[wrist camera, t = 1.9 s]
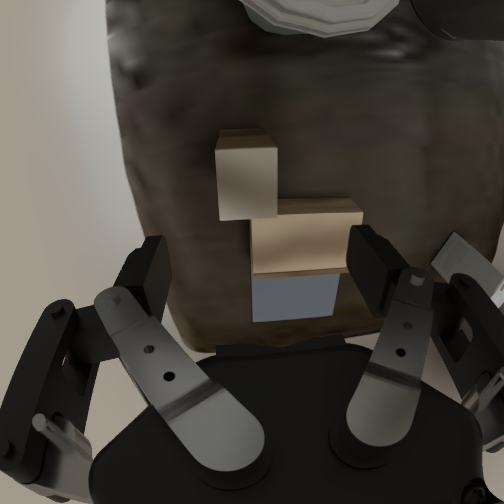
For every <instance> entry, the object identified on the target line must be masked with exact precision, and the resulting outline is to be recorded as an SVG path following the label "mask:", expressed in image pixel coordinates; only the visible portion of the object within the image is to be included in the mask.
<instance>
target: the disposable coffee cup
mask: <svg viewBox="0 0 504 504" xmlns="http://www.w3.org/2000/svg"><path fill="white" fill-rule="evenodd" d="M239 1H241V2H242V3H243V4H244V7H245V9H246V11H247V13H248V16H249V18H250V20H251V21H252V22H254V23H255V24H257V25H258V26H259V27H261V28H262V29H263V30H265V31H267V32H273V33H277V34H282V35H291V34H308V33H309V34H313V35H316V36H320V37H323V38H326V37H331V36H336V35H342V34H348V33H355V32H362V31H368V30H369V29H370V28H371V27H373V26H374V25H375V24H376V23H378V22H379V21H380V20H381V19H382V18H383V17H384V16H385V15H387V14H388V13H389V12H390V11H391V10H392V9H393V8H395V7H396V6H397V5H398V4H399V0H239Z"/></svg>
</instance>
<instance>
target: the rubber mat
mask: <svg viewBox="0 0 504 504" xmlns="http://www.w3.org/2000/svg"><path fill="white" fill-rule="evenodd" d="M339 276H340V273H338V274H325V275H312V276H299V277H284V278H269V279H253V273H252V264H251V281H252V310H253V322H262V321H275V320H288V319H299V318H309V317H319V316H329V315H332V314H333V309H334V304H335V299H336V293H337V288H338V282H339Z"/></svg>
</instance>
